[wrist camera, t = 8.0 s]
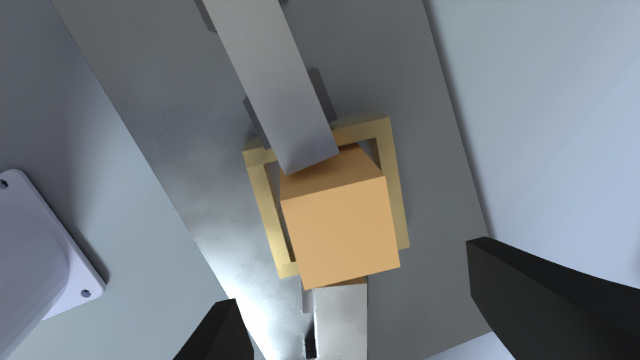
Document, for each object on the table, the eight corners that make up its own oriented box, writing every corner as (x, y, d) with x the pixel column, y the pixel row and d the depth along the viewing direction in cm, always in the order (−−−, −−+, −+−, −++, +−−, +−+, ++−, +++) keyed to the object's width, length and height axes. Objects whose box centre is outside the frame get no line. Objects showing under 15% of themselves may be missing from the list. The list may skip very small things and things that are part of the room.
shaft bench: (295, 396, 25) (299, 472, 21) (62, 3, 17) (-21, -17, 12) (504, 312, 25) (555, 371, 20) (374, -138, 16) (411, -215, 12)
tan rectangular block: (370, 212, 20) (400, 267, 15) (298, 230, 20) (304, 290, 15) (356, 142, 19) (385, 175, 14) (280, 161, 19) (279, 201, 14)
